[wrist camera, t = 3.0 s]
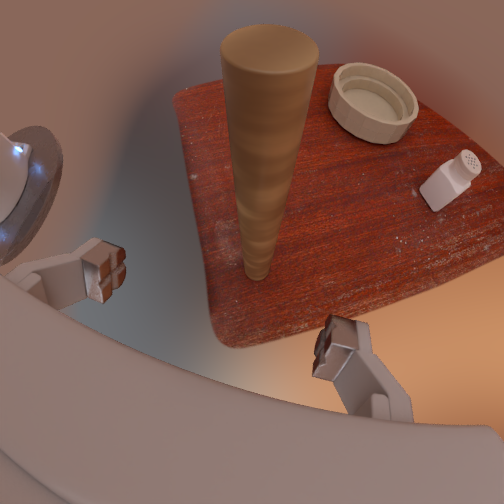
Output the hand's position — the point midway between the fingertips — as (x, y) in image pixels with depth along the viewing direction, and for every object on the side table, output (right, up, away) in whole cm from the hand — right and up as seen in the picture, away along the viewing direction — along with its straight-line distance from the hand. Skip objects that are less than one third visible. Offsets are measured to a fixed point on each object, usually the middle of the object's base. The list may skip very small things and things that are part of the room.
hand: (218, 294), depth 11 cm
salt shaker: (+26, +9, +23) cm, 36 cm away
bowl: (+18, +22, +27) cm, 39 cm away
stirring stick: (+2, 0, +20) cm, 21 cm away
